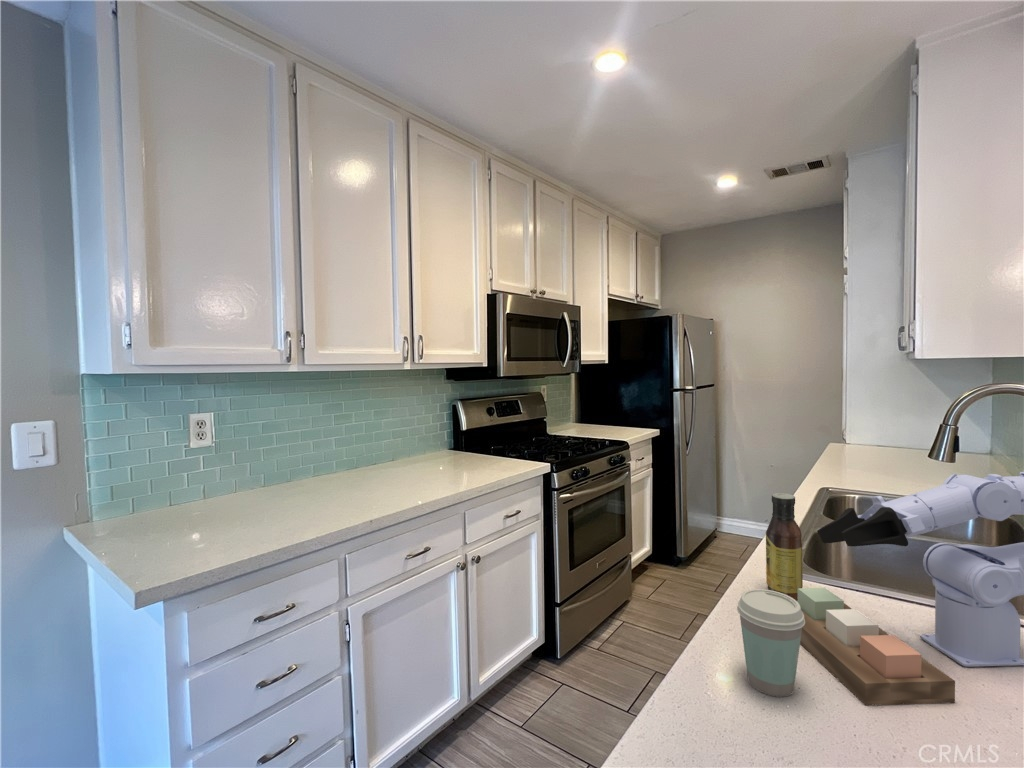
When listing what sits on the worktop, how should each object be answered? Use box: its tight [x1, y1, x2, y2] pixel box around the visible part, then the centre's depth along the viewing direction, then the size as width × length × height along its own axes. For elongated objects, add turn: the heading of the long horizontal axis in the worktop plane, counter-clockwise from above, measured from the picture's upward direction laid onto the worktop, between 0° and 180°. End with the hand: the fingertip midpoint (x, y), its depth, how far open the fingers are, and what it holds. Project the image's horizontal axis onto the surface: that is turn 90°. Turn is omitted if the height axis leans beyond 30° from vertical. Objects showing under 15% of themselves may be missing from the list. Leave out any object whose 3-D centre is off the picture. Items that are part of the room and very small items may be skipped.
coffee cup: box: [736, 588, 805, 698], centre depth 69 cm, size 8×8×12 cm
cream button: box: [826, 608, 880, 647], centre depth 75 cm, size 5×5×4 cm
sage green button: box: [797, 587, 845, 620], centre depth 83 cm, size 5×5×4 cm
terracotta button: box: [860, 634, 922, 679], centre depth 68 cm, size 5×5×4 cm
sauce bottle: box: [765, 492, 804, 600], centre depth 95 cm, size 7×6×20 cm
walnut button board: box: [800, 602, 956, 706], centre depth 75 cm, size 12×22×3 cm, turn 1°
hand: (832, 538), depth 76 cm, fingers open, 7 cm apart
